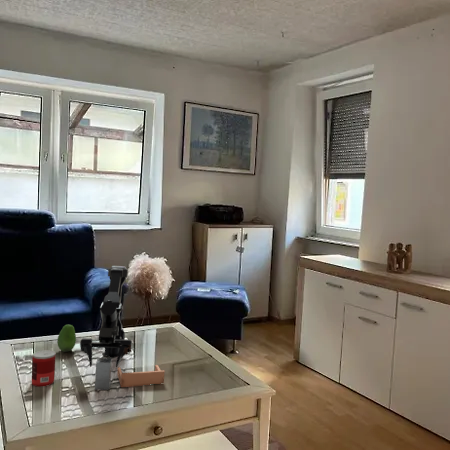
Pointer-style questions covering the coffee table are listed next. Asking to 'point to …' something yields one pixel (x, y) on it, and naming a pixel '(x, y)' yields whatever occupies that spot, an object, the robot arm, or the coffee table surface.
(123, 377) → the coupler dock
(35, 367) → the canned food
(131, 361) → the coffee table surface
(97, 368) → the block
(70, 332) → the fruit
